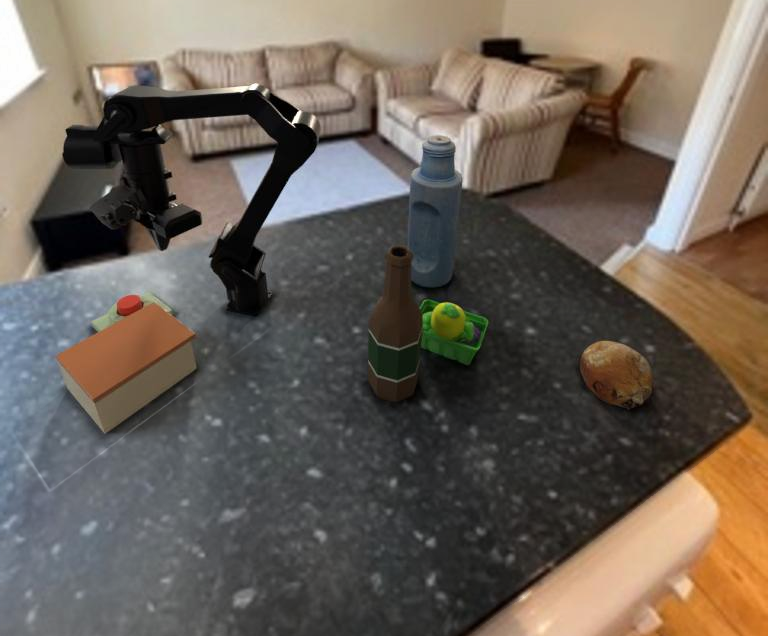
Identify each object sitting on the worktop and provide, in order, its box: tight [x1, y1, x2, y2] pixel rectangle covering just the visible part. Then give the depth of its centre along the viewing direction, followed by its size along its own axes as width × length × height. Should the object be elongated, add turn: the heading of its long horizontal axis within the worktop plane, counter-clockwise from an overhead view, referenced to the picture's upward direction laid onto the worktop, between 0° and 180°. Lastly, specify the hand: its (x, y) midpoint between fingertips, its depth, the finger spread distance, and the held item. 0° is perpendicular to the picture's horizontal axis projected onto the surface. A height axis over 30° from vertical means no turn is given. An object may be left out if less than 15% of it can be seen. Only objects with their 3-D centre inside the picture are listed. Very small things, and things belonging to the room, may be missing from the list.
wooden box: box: [56, 340, 198, 435], centre depth 66 cm, size 14×12×6 cm
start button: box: [116, 294, 142, 316], centre depth 77 cm, size 4×4×2 cm
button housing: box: [91, 291, 174, 333], centre depth 78 cm, size 10×8×3 cm
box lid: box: [54, 302, 196, 403], centre depth 65 cm, size 14×12×1 cm
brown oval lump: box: [579, 340, 654, 410], centre depth 69 cm, size 10×10×8 cm
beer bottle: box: [367, 244, 423, 403], centre depth 63 cm, size 8×8×24 cm
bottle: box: [406, 134, 464, 289], centre depth 86 cm, size 10×10×30 cm
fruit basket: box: [419, 299, 489, 366], centre depth 72 cm, size 11×9×11 cm
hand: (163, 249), depth 78 cm, fingers closed
